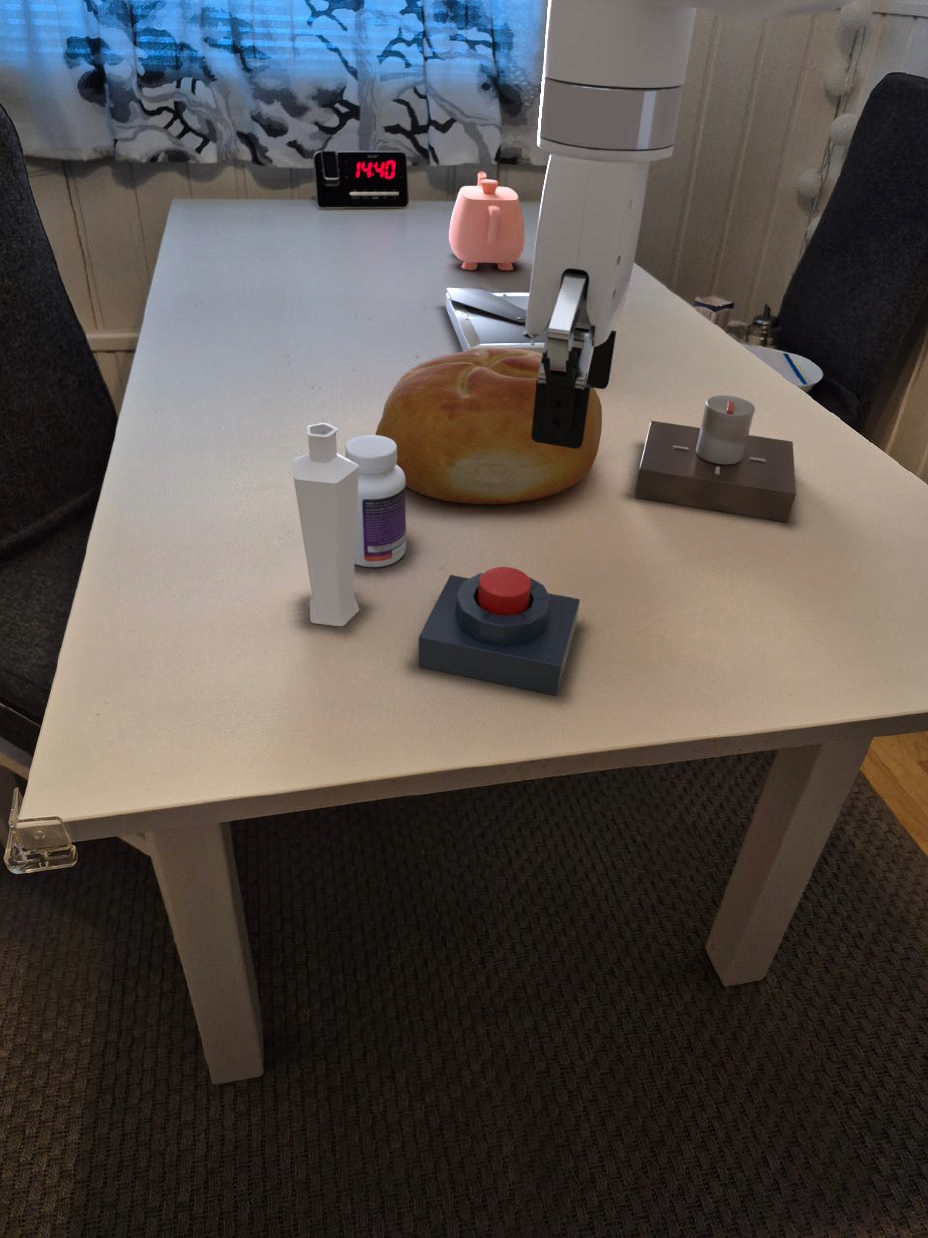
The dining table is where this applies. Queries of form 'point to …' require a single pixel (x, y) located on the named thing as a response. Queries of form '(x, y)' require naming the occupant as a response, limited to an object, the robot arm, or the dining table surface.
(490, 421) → the bread
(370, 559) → the pill bottle
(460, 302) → the picture frame
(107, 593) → the dining table surface
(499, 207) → the teapot
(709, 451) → the knob
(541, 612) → the button box
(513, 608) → the button
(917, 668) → the dining table surface
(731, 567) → the dining table surface
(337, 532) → the perfume bottle
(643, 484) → the dial panel
